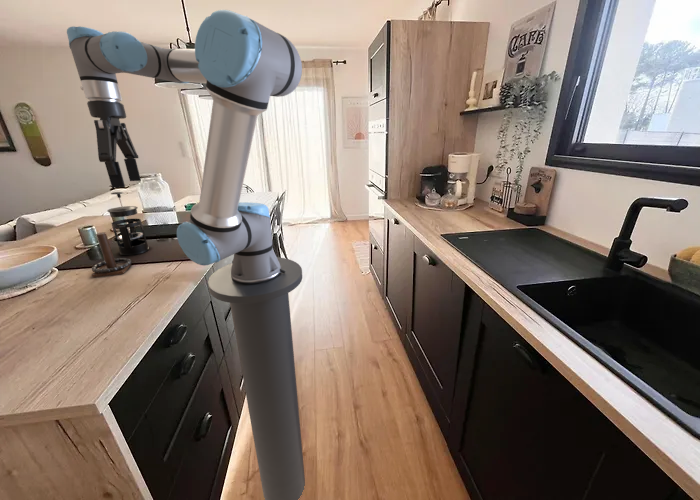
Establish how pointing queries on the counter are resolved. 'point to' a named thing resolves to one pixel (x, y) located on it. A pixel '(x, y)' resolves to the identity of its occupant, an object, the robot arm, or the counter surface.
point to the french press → (129, 239)
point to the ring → (111, 268)
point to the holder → (107, 257)
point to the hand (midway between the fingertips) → (127, 183)
